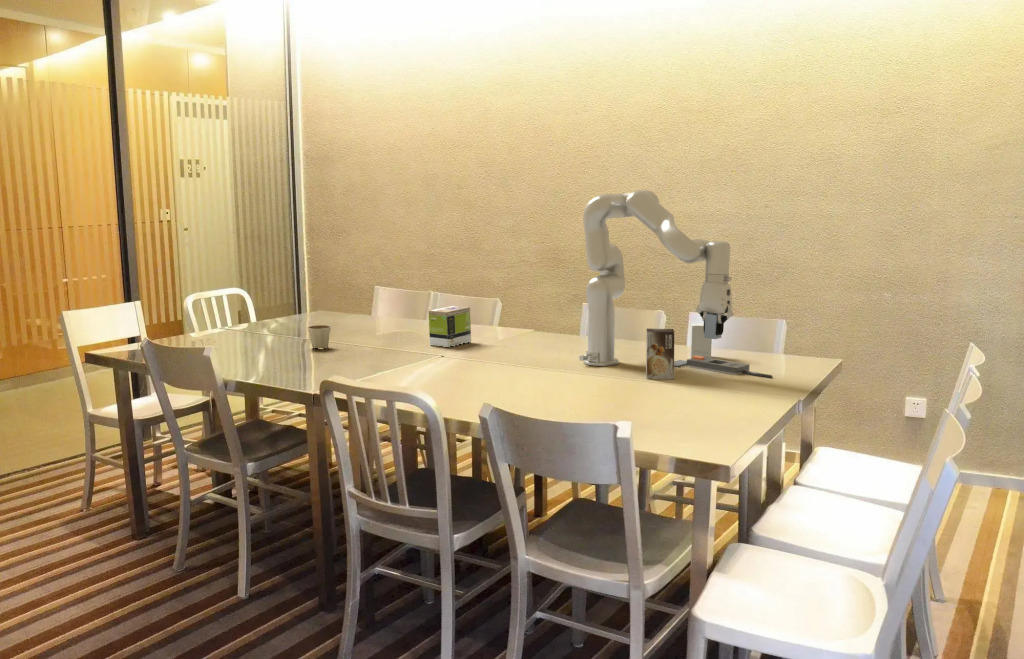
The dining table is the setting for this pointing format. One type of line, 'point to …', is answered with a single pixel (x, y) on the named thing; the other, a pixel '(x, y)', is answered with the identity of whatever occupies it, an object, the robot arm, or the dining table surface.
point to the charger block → (711, 326)
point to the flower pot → (319, 335)
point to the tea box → (449, 326)
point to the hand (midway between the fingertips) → (713, 333)
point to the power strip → (722, 366)
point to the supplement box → (700, 341)
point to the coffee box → (660, 354)
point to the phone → (680, 363)
